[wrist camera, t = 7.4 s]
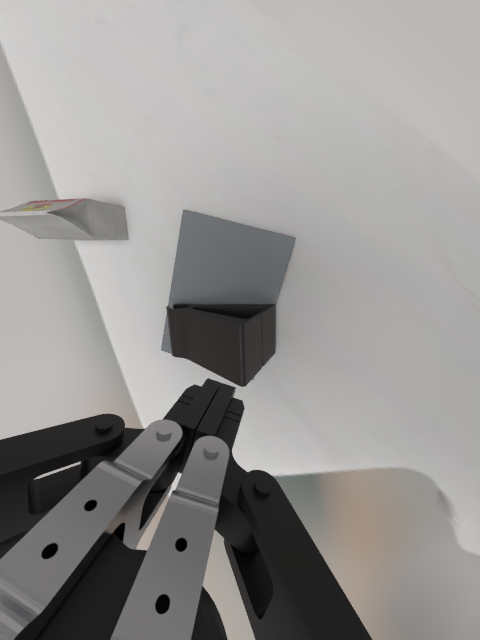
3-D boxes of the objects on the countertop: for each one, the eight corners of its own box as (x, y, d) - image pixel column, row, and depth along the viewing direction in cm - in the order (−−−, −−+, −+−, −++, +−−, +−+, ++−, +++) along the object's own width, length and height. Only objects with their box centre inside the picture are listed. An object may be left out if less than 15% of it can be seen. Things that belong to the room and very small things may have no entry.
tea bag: (128, 239, 31) (58, 235, 22) (81, 240, 33) (-4, 236, 23) (124, 207, 30) (49, 189, 21) (76, 209, 32) (-15, 192, 22)
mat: (295, 237, 28) (295, 237, 27) (253, 377, 33) (253, 379, 33) (185, 210, 29) (183, 209, 28) (163, 348, 35) (161, 350, 34)
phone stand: (242, 325, 21) (140, 314, 27) (244, 387, 23) (148, 365, 28) (276, 303, 29) (192, 298, 34) (276, 351, 31) (196, 339, 36)
